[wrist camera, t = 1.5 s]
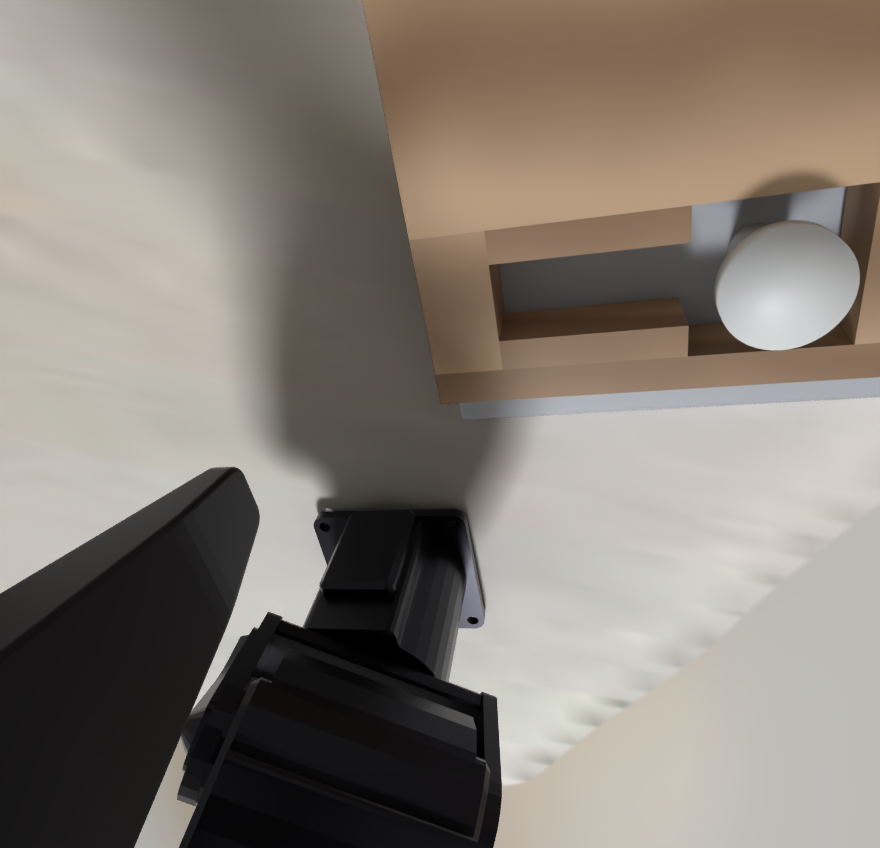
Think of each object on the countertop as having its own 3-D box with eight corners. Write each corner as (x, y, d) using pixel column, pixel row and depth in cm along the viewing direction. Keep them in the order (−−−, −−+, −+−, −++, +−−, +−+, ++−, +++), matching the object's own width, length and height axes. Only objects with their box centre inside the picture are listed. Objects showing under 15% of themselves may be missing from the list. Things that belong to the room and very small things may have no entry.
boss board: (1061, 366, 19) (1177, 452, 16) (466, 402, 24) (446, 477, 20) (1508, -896, 9) (2146, -1511, 5) (322, -436, 13) (225, -605, 10)
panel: (864, 342, 19) (891, 376, 17) (451, 373, 21) (440, 404, 20) (1026, -570, 10) (1112, -679, 9) (325, -327, 13) (289, -375, 12)
